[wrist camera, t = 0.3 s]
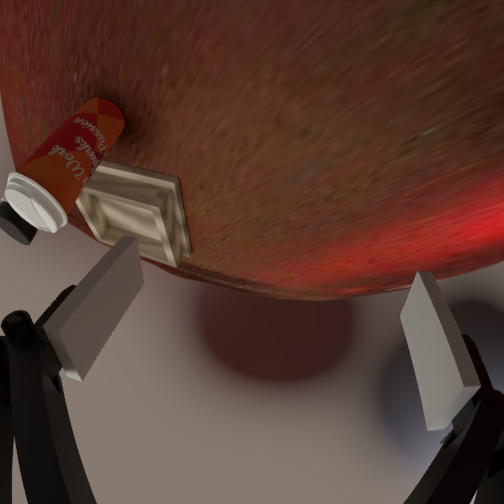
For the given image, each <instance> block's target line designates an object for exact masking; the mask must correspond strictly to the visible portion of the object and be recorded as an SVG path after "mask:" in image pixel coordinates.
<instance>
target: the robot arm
mask: <svg viewBox="0 0 504 504" xmlns="http://www.w3.org/2000/svg"><path fill="white" fill-rule="evenodd" d="M143 285H144V280H143V273H142V267H141V260H140V253H139V246H138V239H137V237H134V236H125V235H123V236H122V237H121V238H120V239H119V241H118V242H117V243H116V244H115V245H114V246H113V247H112V248H111V249H110V250H109V251H108V252H107V253H106V254H105V255H104V256H103V257H102V259H101V260H100V261H99V262H98V263H97V264H96V265H95V266H94V267H93V269H91V271H90V272H89V273H88V274H87V275H86V276H85V277H84V278H83V279H82V281H81V282H80V283H79V284H78V285H77V286H75V285H71V286H70V287H68V288H66V289H65V290H63V291H62V292H61V293H60V295H59V296H58V297H57V298H56V300H54V301H53V303H52V304H51V306H49V307H48V309H47V310H46V311H45V312H44V313H43V314H42V315H41V317H40V318H39V319H38V320H37V321H36V323H35V324H33V322H32V319H31V317H30V315H29V313H27V312H26V311H23V310H18V311H14V312H12V313H10V314H9V315H7V316H6V317H5V318H4V319H3V321H2V323H1V328H2V330H3V332H4V334H5V335H6V336H0V504H12V460H13V459H12V458H13V443H14V436H15V443H16V450H17V455H18V461H19V467H20V472H21V477H22V481H23V486H24V490H25V494H26V498H27V501H28V504H97V503H96V500H95V498H94V495H93V493H92V490H91V487H90V484H89V482H88V479H87V476H86V473H85V470H84V467H83V464H82V461H81V458H80V455H79V451H78V448H77V445H76V441H75V438H74V434H73V430H72V427H71V423H70V419H69V414H68V410H67V406H66V401H65V397H64V392H63V387H62V382H61V378H60V376H59V371H60V370H61V368H62V367H63V369H64V371H65V373H66V375H67V376H68V377H71V378H74V379H76V380H79V381H83V380H84V378H85V376H86V375H87V373H88V371H89V370H90V368H91V366H92V365H93V363H94V361H95V360H96V358H97V356H98V355H99V353H100V351H101V350H102V348H103V347H104V345H105V343H106V342H107V340H108V339H109V337H110V336H111V334H112V332H113V331H114V329H115V328H116V326H117V324H118V323H119V321H120V320H121V318H122V317H123V315H124V314H125V312H126V310H127V309H128V307H129V306H130V304H131V303H132V301H133V300H134V298H135V297H136V295H137V294H138V292H139V291H140V289H141V288H142V286H143ZM400 318H401V322H402V325H403V329H404V332H405V335H406V339H407V343H408V346H409V350H410V354H411V358H412V362H413V366H414V369H415V374H416V378H417V382H418V387H419V390H420V395H421V400H422V405H423V410H424V414H425V420H426V425H427V430H428V431H429V430H442V429H445V428H446V426H447V425H448V424H449V423H450V422H451V421H452V424H453V428H454V429H453V430H452V431H451V432H450V433H449V434H448V435H447V436H446V437H445V438H444V439H443V440H442V441H441V442H440V443H441V444H442V443H443V442H444V441H445V442H444V444H443V445H442V447H441V449H440V450H439V452H438V454H437V455H436V457H435V459H434V460H433V462H432V463H431V465H430V466H429V468H428V470H427V471H426V473H425V474H424V475H423V477H422V478H421V480H420V482H419V483H418V484H417V486H416V487H415V488H414V490H413V491H412V493H411V494H410V496H409V497H408V498H407V499H406V501H405V502H404V504H470V502H471V500H472V498H473V496H474V495H475V493H476V491H477V493H476V497H475V501H474V504H504V394H503V393H501V392H500V391H498V390H494V389H493V387H492V384H491V381H490V379H489V376H488V373H487V371H486V368H485V366H484V363H482V359H481V356H480V355H479V352H478V349H477V347H476V345H475V343H474V342H473V340H471V339H470V337H469V336H468V335H461V333H460V331H459V329H458V326H457V324H456V322H455V320H454V318H453V315H452V314H451V311H450V309H449V307H448V305H447V303H446V301H445V298H444V296H443V295H442V293H441V290H440V288H439V286H438V284H437V282H436V280H435V278H434V276H433V275H432V273H431V272H423V271H417V274H416V277H415V279H414V282H413V285H412V287H411V290H410V293H409V295H408V298H407V300H406V303H405V305H404V308H403V310H402V313H401V315H400ZM477 489H478V490H477Z"/></svg>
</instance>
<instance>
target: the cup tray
mask: <svg viewBox="0 0 504 504" xmlns="http://www.w3.org/2000/svg"><path fill="white" fill-rule="evenodd" d="M76 204H77V205H78V207H79V209H80V211H81V213H82V214H83V216H84V218H85V219H86V221H87V223H88V225H89V226H90V228H91V230H92V231H93V233H94V235H95V236H96V238H97V240H98V241H100V242H103V243H106V244H109V245H112V246H114V245H115V244H116V243H117V242H118V241H119V239H120V238H121V237H122V236H123V235H125V236H134V237H137V239H138V246H139V253H140V255H141V256H143V257H146V258H149V259H152V260H155V261H158V262H161V263H164V264H167V265H170V266H173V267H176V268H177V266H178V264H179V262H180V260H181V258H182V255H184V256H187V257H190V255H191V253H192V250H191V245H190V240H189V235H188V230H187V225H186V219H185V214H184V209H183V203H182V198H181V192H180V186H179V181H178V177H175V176H170V175H166V174H162V173H158V172H154V171H149V170H145V169H140V168H136V167H132V166H127V165H122V164H118V163H113V162H108V161H104V160H102V161H101V163H100V164H99V166H98V167H97V169H96V170H95V172H94V173H93V175H92V176H91V178H90V179H89V181H88V183H87V184H86V186H85V187H84V189H83V191H82V192H81V194H80V195H79V197H78V199H77V200H76Z"/></svg>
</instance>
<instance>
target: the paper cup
mask: <svg viewBox="0 0 504 504" xmlns="http://www.w3.org/2000/svg"><path fill="white" fill-rule="evenodd" d="M124 126H125V120H124V116H123V114H122V112H121V110H120V109H119V108H118V107H117V106H116V105H115V104H114V103H113V102H112V101H110V100H108V99H106V98H103V97H95V98H92V99H91V100H89V101H88V102H87V103H85V104H84V105H83V106H82V107H80V108H79V109H78V110H77V111H76V112H75V113H74V114H73V115H71V116H70V117H69V118H68V119H67V120H66V121H65V122H64V123H63V124H62V125H61V126H60V127H59V128H58V129H56V130H55V131H54V132H53V133H52V134H51V135H50V136H49V137H48V138H47V139H46V140H45V141H44V142H43V144H42V145H41V146H40V147H39V148H38V149H37V150H36V151H35V152H34V153H33V154H32V155H31V156H30V157H29V158H28V159H27V161H26V162H25V163H24V164H23V165H22V166H21V167H20V168H19V170H18V171H17V172H12V173H10V174H9V178H8V183H7V188H6V190H5V197H6V199H7V201H8V202H9V204H10V205H11V206H12V208H13V209H14V210H15V211H16V212H17V213H18V214H19V215H20V216H21V217H22V218H23V219H25V220H26V221H27V222H29V223H30V224H31V225H33V226H35V227H36V228H38V229H40V230H41V229H42V230H44V231H48V232H51V231H52V233H54V232H56V231H57V230H58V229H59V228H60V227H62V226H64V225H66V223H67V216H68V214H69V212H70V211H71V209H72V207H73V205H74V204H75V202H76V200H77V199H78V197H79V195H80V194H81V192H82V191H83V189H84V187H85V186H86V184H87V183H88V181H89V179H90V178H91V176H92V175H93V173H94V172H95V170H96V169H97V167H98V166H99V164H100V163H101V161H102V160H103V158H104V157H105V155H106V154H107V152H108V151H109V149H110V148H111V147H112V145H113V144H114V142H115V141H116V139H117V138H118V136H119V135H120V134H121V132H122V130H123V129H124ZM50 230H51V231H50Z"/></svg>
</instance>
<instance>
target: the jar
mask: <svg viewBox="0 0 504 504" xmlns="http://www.w3.org/2000/svg"><path fill="white" fill-rule="evenodd" d="M1 200H2V202H1V203H0V228H2V229H3V230H4V231H5V232H6V233H7V234H8V235H9V236H11V237H12V238H14V239H15V240H17V241H18V242H20V243H22V244H24V245H29V244H30V243H31V241H32V240H33V238H34V237H35V235H36V234H37V233H38V232H39V230H40V229H38V228H36V227H35V226H33V225H31V224H30V223H29V222H27V221H26V220H25V219H23V218H22V217H21V216H20V215H19V214H18V213H17V212H16V211H15V210H14V209H13V208H12V206H11V205H10V204H9V202H8V201H7V199H6V197H5V194H4V195H3V197H2V198H1Z"/></svg>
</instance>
